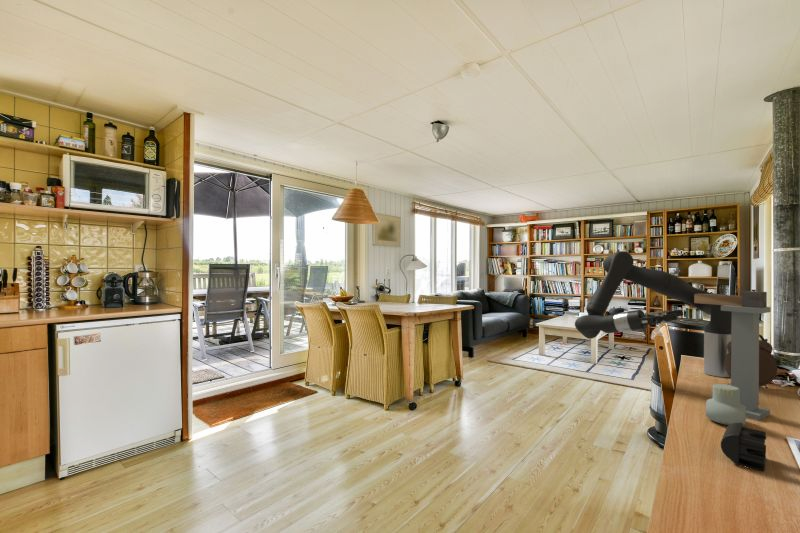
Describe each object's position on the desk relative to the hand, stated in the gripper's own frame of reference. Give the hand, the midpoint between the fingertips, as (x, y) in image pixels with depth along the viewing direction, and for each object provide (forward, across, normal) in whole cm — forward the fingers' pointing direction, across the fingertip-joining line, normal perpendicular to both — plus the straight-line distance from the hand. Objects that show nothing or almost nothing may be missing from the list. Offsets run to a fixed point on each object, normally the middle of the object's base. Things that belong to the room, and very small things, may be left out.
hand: (679, 314), depth 135 cm
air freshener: (+8, -25, +28) cm, 39 cm away
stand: (+11, -11, +30) cm, 34 cm away
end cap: (+15, -50, +28) cm, 59 cm away
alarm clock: (+8, +24, +33) cm, 42 cm away
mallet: (+15, -8, -2) cm, 17 cm away
